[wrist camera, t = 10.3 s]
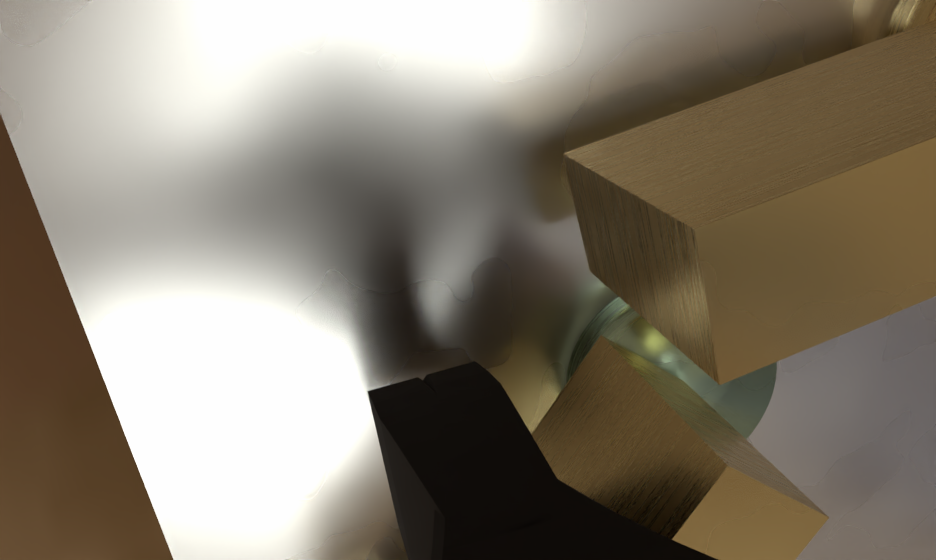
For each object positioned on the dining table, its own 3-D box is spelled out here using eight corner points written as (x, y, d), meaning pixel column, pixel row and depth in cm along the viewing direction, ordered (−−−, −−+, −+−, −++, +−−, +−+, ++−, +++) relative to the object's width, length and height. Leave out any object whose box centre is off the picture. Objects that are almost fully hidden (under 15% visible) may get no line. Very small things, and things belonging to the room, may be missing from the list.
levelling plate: (1082, -244, 11) (1226, -281, 9) (957, 553, 17) (1031, 615, 15) (-49, -100, 8) (-123, -120, 7) (281, 788, 14) (285, 891, 13)
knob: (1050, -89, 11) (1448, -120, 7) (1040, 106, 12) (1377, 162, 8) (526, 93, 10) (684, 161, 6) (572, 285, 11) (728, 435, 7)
